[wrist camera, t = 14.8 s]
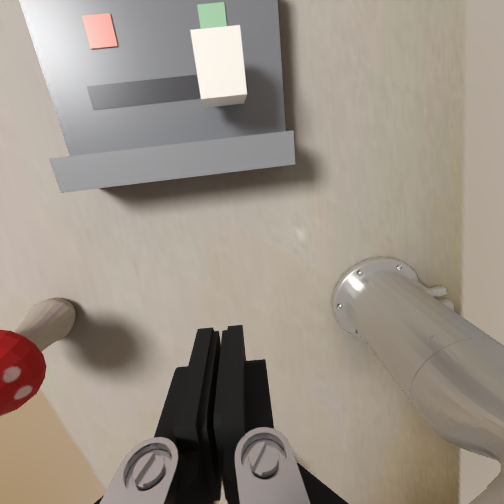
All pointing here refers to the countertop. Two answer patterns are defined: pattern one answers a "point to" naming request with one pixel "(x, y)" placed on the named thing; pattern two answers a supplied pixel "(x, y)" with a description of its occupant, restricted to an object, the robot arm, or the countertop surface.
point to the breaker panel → (156, 90)
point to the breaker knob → (219, 65)
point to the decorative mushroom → (30, 350)
